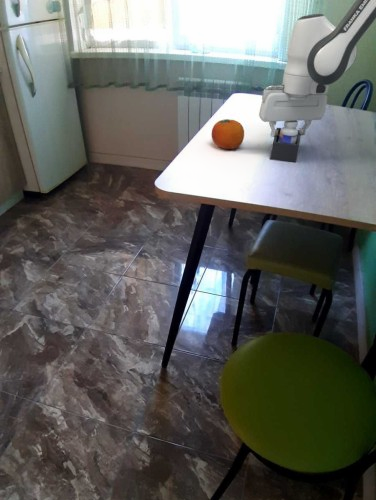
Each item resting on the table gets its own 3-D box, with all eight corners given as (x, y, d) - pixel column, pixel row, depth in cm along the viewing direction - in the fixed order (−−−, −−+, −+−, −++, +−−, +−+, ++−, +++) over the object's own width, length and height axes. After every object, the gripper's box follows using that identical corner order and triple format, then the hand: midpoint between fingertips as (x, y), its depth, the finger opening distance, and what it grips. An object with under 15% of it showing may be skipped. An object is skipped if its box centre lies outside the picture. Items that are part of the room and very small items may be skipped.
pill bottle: (272, 153, 131) (278, 120, 125) (283, 149, 134) (289, 117, 127) (286, 158, 128) (292, 124, 122) (296, 154, 131) (303, 121, 125)
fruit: (246, 145, 138) (249, 119, 133) (237, 155, 131) (240, 128, 126) (216, 139, 141) (218, 114, 135) (206, 149, 134) (208, 122, 128)
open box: (297, 146, 139) (301, 130, 136) (295, 162, 128) (299, 145, 125) (273, 143, 141) (276, 127, 137) (269, 159, 130) (272, 142, 126)
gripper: (268, 88, 114) (260, 140, 123) (334, 86, 118) (321, 137, 127) (259, 82, 118) (252, 133, 128) (323, 81, 122) (312, 131, 132)
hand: (287, 135), depth 128 cm, fingers open, 8 cm apart
